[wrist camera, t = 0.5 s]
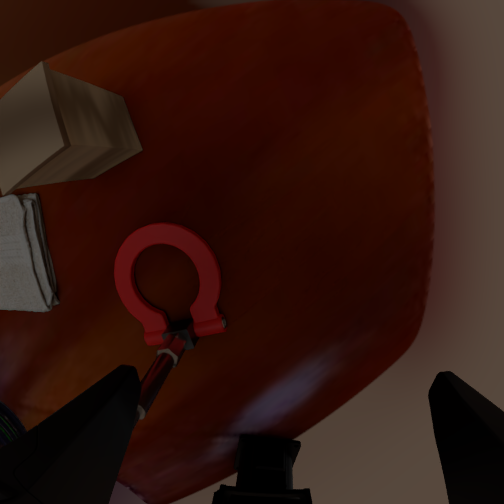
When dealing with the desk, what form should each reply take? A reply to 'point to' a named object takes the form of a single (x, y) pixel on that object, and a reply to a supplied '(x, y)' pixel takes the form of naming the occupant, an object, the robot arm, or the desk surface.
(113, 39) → the desk surface
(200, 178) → the desk surface
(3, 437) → the storage jar
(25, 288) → the washcloth
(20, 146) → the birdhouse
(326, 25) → the desk surface
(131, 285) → the tow hook
